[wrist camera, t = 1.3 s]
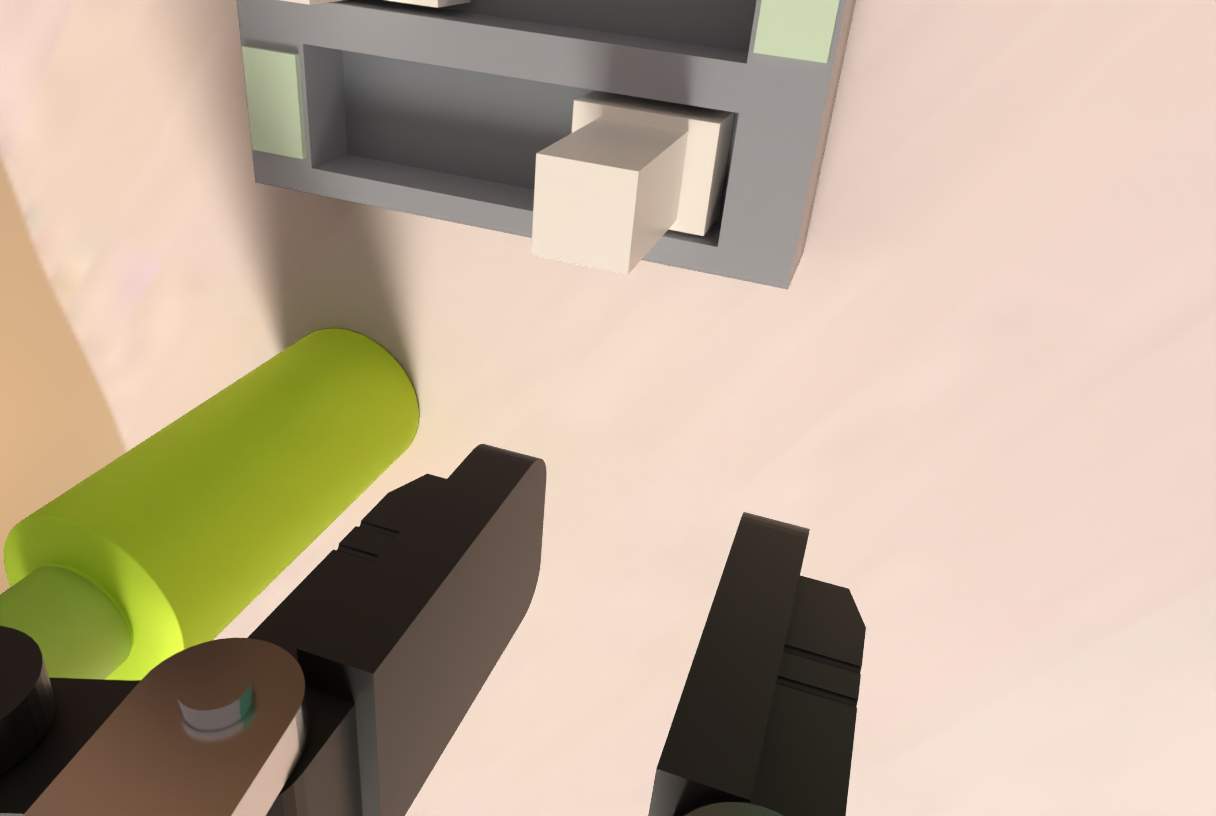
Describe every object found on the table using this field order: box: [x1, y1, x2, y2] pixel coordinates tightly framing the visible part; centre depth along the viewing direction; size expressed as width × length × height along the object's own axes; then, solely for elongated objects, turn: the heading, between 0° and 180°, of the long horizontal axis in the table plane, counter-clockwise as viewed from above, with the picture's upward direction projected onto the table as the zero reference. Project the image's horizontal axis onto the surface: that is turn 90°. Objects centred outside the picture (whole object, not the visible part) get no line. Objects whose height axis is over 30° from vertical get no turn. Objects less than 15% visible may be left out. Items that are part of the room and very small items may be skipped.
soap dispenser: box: [0, 328, 419, 681], centre depth 27 cm, size 6×7×20 cm
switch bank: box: [237, 0, 855, 289], centre depth 26 cm, size 17×10×3 cm, turn 85°
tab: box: [531, 90, 735, 275], centre depth 23 cm, size 4×3×7 cm
